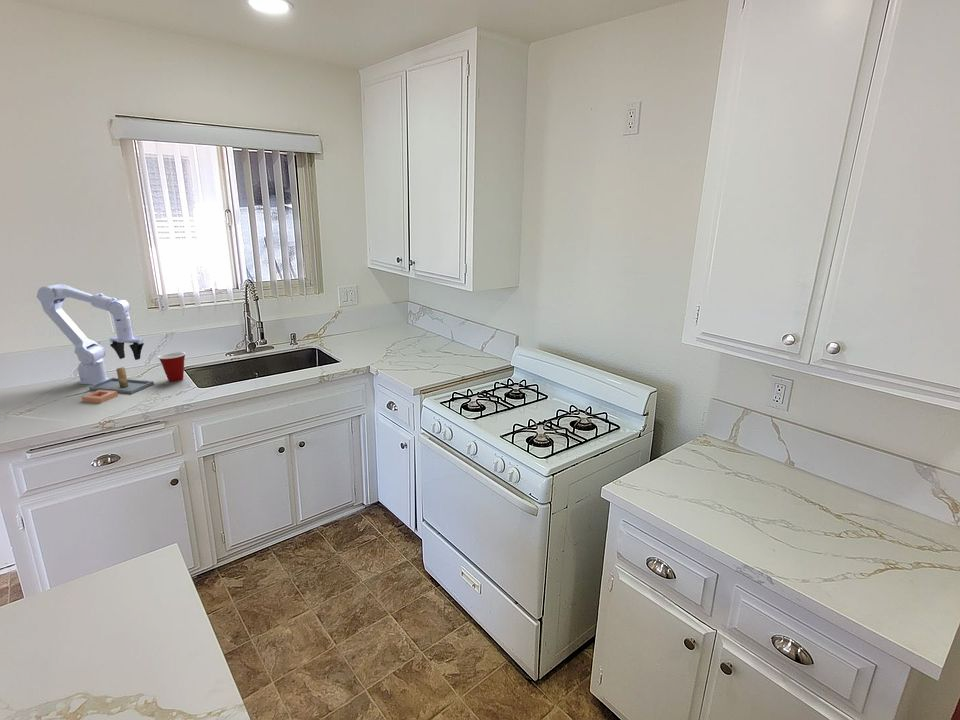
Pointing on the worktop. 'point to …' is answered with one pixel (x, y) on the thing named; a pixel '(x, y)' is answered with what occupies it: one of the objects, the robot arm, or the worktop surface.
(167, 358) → the plastic cup
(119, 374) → the dowel pin
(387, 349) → the worktop surface
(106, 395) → the orange square hole block
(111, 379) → the tray
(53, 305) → the robot arm
